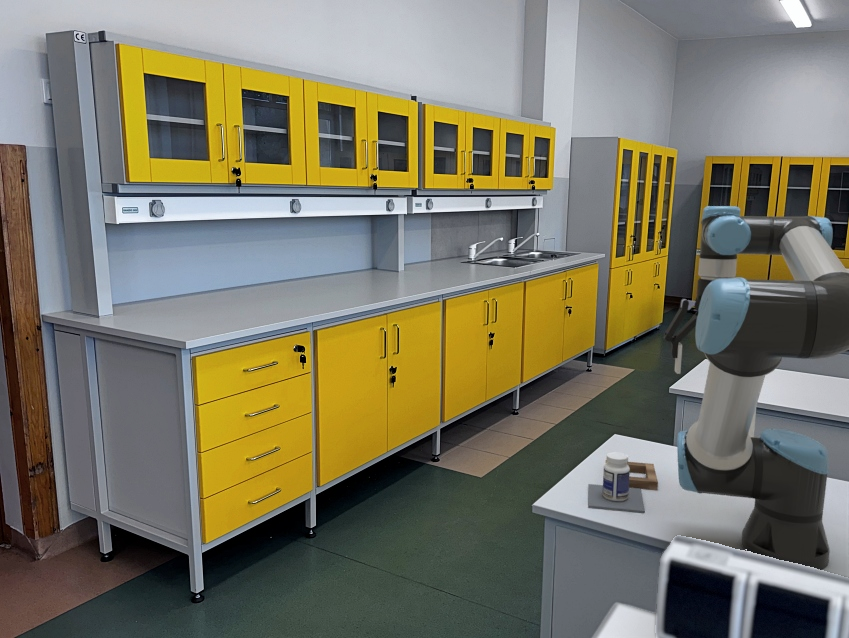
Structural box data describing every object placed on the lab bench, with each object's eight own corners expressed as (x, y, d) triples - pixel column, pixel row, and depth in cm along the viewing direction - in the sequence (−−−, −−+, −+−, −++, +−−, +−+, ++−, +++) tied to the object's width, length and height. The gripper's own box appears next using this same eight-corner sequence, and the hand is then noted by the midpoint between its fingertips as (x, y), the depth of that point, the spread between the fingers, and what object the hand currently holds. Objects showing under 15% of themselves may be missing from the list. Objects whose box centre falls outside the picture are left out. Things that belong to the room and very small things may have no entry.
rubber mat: (645, 513, 151) (645, 511, 151) (588, 507, 154) (588, 505, 153) (640, 490, 162) (641, 488, 162) (588, 485, 165) (588, 483, 165)
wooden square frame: (657, 490, 163) (658, 482, 162) (606, 485, 165) (606, 477, 165) (653, 471, 174) (653, 463, 173) (605, 467, 176) (605, 459, 176)
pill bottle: (628, 493, 160) (630, 452, 158) (628, 503, 154) (631, 461, 153) (602, 490, 161) (604, 449, 160) (601, 500, 156) (604, 458, 154)
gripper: (772, 277, 152) (763, 372, 155) (653, 275, 155) (648, 367, 159) (784, 281, 144) (775, 380, 148) (659, 278, 148) (653, 375, 152)
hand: (709, 373), depth 153 cm, fingers open, 13 cm apart
